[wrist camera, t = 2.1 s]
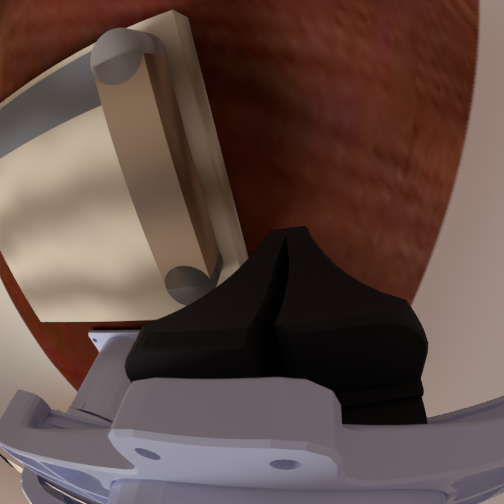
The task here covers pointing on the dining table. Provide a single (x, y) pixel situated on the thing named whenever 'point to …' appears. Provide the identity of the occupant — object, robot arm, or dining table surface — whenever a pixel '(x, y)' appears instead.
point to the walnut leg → (156, 160)
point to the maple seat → (98, 191)
